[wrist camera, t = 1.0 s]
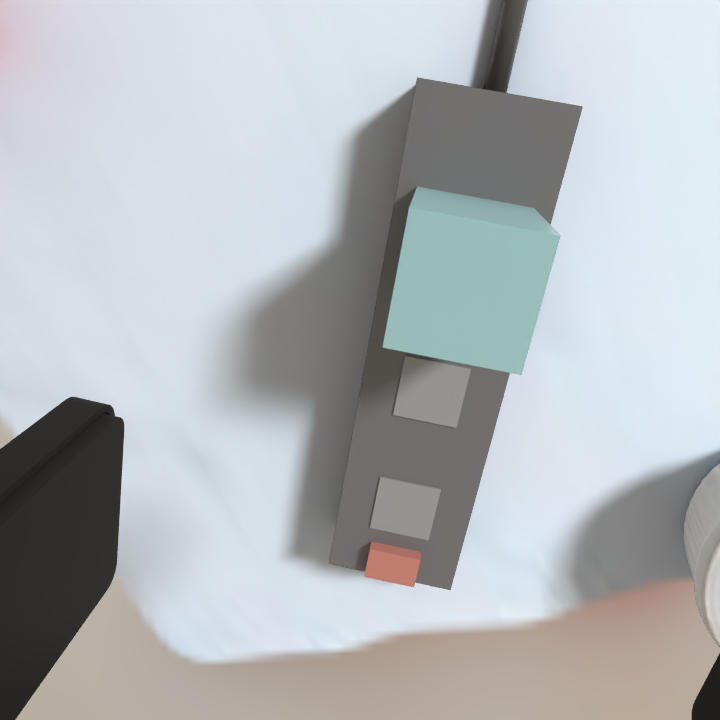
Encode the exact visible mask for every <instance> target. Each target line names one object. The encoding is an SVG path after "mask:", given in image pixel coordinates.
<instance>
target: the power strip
mask: <svg viewBox="0 0 720 720" xmlns="http://www.w3.org/2000/svg"><path fill="white" fill-rule="evenodd" d="M527 1H528V0H503V3H502V8H501V12H500V17H499V21H498V26H497V30H496V35H495V40H494V44H493V49H492V53H491V58H490V63H489V67H488V72H487V76H486V81H485V85H484V89H480V88H474V87H468V86H463V85H457V84H451V83H446V82H440V81H434V80H428V79H423V78H417V81H416V86H415V92H414V97H413V103H412V109H411V114H410V120H409V125H408V131H407V136H406V142H405V147H404V153H403V158H402V164H401V169H400V175H399V180H398V186H397V191H396V197H395V202H394V208H393V213H392V219H391V224H390V230H389V235H388V241H387V246H386V252H385V257H384V263H383V268H382V274H381V279H380V285H379V290H378V296H377V301H376V307H375V312H374V318H373V323H372V329H371V334H370V340H369V345H368V351H367V356H366V362H365V367H364V373H363V378H362V384H361V389H360V395H359V400H358V406H357V411H356V417H355V422H354V428H353V433H352V439H351V444H350V450H349V455H348V461H347V466H346V472H345V477H344V483H343V488H342V494H341V499H340V505H339V510H338V516H337V521H336V527H335V532H334V538H333V543H332V549H331V555H330V560H329V564H333V565H338V566H342V567H347V568H352V569H356V570H361V571H365V575H364V576H365V577H370V578H374V579H379V580H383V581H388V582H392V583H397V584H402V585H406V586H411V587H414V585H415V582H416V583H420V584H425V585H429V586H434V587H439V588H443V589H448V590H451V586H452V582H453V579H454V575H455V571H456V568H457V564H458V560H459V557H460V553H461V549H462V546H463V542H464V538H465V535H466V531H467V528H468V524H469V520H470V517H471V513H472V509H473V506H474V502H475V498H476V495H477V491H478V487H479V484H480V480H481V476H482V473H483V469H484V465H485V462H486V458H487V454H488V451H489V447H490V443H491V440H492V436H493V432H494V429H495V425H496V422H497V418H498V414H499V411H500V407H501V403H502V400H503V396H504V392H505V389H506V385H507V381H508V378H509V374H510V373H508V372H503V371H498V370H493V369H488V368H483V367H478V366H473V365H468V364H463V363H458V362H453V361H448V360H443V359H438V358H433V357H428V356H423V355H418V354H413V353H408V352H403V351H398V350H393V349H388V348H383V342H384V337H385V332H386V326H387V321H388V316H389V311H390V305H391V300H392V295H393V290H394V284H395V279H396V274H397V269H398V263H399V258H400V253H401V248H402V242H403V237H404V232H405V227H406V221H407V216H408V211H409V207H410V204H411V201H412V199H413V196H414V194H415V191H416V188H417V186H418V187H423V188H428V189H434V190H439V191H445V192H450V193H456V194H461V195H466V196H472V197H477V198H483V199H488V200H493V201H499V202H504V203H510V204H515V205H521V206H526V207H531V208H535V209H536V210H537V212H538V213H539V214H540V215H541V216H542V217H543V218H544V219H545V220H546V221H547V222H548V223H549V224H551V220H552V217H553V213H554V210H555V206H556V202H557V199H558V195H559V191H560V188H561V184H562V180H563V177H564V173H565V169H566V166H567V162H568V158H569V155H570V151H571V147H572V144H573V140H574V136H575V133H576V129H577V125H578V122H579V118H580V115H581V111H582V106H577V105H571V104H565V103H560V102H554V101H548V100H543V99H537V98H531V97H525V96H520V95H514V94H508V93H506V92H507V88H508V83H509V79H510V75H511V70H512V66H513V62H514V57H515V53H516V49H517V44H518V40H519V36H520V31H521V27H522V23H523V18H524V14H525V10H526V5H527Z"/></svg>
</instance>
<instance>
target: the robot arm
mask: <svg viewBox="0 0 720 720" xmlns="http://www.w3.org/2000/svg"><path fill="white" fill-rule="evenodd" d="M123 442H124V422H123V419H122V418H120V417H116V416H115V413H114V410H113V408H112V407H111V405H107V404H103V403H99V402H94V401H90V400H85V399H81V398H77V397H70V398H68V399H66V400H65V401H63V402H62V403H61V404H59V405H58V406H57V407H56V408H54V409H53V410H52V411H50V412H49V413H48V414H46V415H45V416H44V417H42V418H41V419H40V420H38V421H37V422H36V423H34V424H33V425H32V426H30V427H29V428H28V429H26V430H25V431H24V432H22V433H21V434H20V435H18V436H17V437H16V438H14V439H13V440H12V441H10V442H9V443H8V444H7V445H5V446H4V447H3V448H1V449H0V720H15V719H16V718H17V716H18V715H19V714H20V712H21V711H22V709H23V708H24V707H25V705H26V704H27V702H28V701H29V699H30V698H31V696H32V695H33V694H34V692H35V691H36V690H37V688H38V687H39V685H40V684H41V682H42V681H43V680H44V678H45V677H46V676H47V674H48V673H49V671H50V670H51V668H52V667H53V666H54V664H55V663H56V661H57V660H58V659H59V657H60V656H61V654H62V653H63V651H64V650H65V649H66V647H67V646H68V644H69V643H70V641H71V640H72V639H73V637H74V636H75V635H76V633H77V632H78V630H79V629H80V628H81V626H82V624H83V623H84V622H85V621H86V619H87V618H88V616H89V614H90V613H91V612H92V611H93V609H94V608H95V606H96V605H97V604H98V602H99V601H100V599H101V598H102V597H103V595H104V594H105V592H106V591H107V589H108V588H109V586H110V584H111V582H112V580H113V577H114V574H115V570H116V565H117V550H118V532H119V514H120V496H121V478H122V460H123ZM692 720H720V654H719V656H718V658H717V660H716V662H715V663H714V665H713V667H712V669H711V671H710V673H709V675H708V677H707V679H706V681H705V682H704V685H703V686H702V688H701V690H700V692H699V694H698V696H697V698H696V700H695V702H694V704H693V709H692Z"/></svg>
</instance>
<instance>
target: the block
mask: <svg viewBox="0 0 720 720" xmlns="http://www.w3.org/2000/svg"><path fill="white" fill-rule="evenodd" d="M559 239H560V235H559V234H558V233H557V232H556V230H555V229H554V228H553V227H552V226H551V225H550V224H549V223H548V222H547V221H546V220H545V219H544V218H543V217H542V216H541V215H540V214H539V213H538V212H537V210H536V209H535V208H531V207H526V206H521V205H515V204H510V203H504V202H499V201H493V200H488V199H483V198H477V197H472V196H466V195H461V194H456V193H450V192H445V191H439V190H434V189H428V188H423V187H418V186H417V188H416V191H415V194H414V196H413V199H412V201H411V204H410V207H409V211H408V216H407V221H406V227H405V232H404V237H403V242H402V248H401V253H400V258H399V263H398V269H397V274H396V279H395V284H394V290H393V295H392V300H391V305H390V311H389V316H388V321H387V326H386V332H385V337H384V342H383V348H388V349H393V350H398V351H403V352H408V353H413V354H418V355H423V356H428V357H433V358H438V359H443V360H448V361H453V362H458V363H463V364H468V365H473V366H478V367H483V368H488V369H493V370H498V371H503V372H508V373H513V374H518V375H521V374H522V370H523V367H524V363H525V360H526V356H527V353H528V349H529V346H530V342H531V338H532V335H533V331H534V328H535V324H536V321H537V317H538V314H539V310H540V306H541V303H542V299H543V296H544V292H545V289H546V285H547V282H548V278H549V274H550V271H551V267H552V264H553V260H554V257H555V253H556V249H557V246H558V242H559Z"/></svg>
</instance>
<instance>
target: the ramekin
mask: <svg viewBox="0 0 720 720" xmlns="http://www.w3.org/2000/svg"><path fill="white" fill-rule="evenodd" d="M683 536H684V542H685V552H686V556H687V560H688V563H689V566H690V570H691V573H692V577H693V580H694V591H695V597H696V603H697V606H698V610H699V612H700V615H701V617H702V619H703V621H704V624H705V626H706V628H707V629H708V631H709V633H710V634H711V636H712V638H713V639H714V640H715V642H716V643H717V645H718V646H719V647H720V463H719V464H718V465H717V466H716V467H714V468H713V469H712V470H711V471H710V472H709V474H708V475H707V476H706V477H705V478H704V479H703V480H702V481H701V483H700V485H699V486H698V487H697V489H696V490H695V492H694V495H693V497H692V498H691V500H690V504H689V507H688V509H687V511H686V518H685V522H684V535H683Z"/></svg>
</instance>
